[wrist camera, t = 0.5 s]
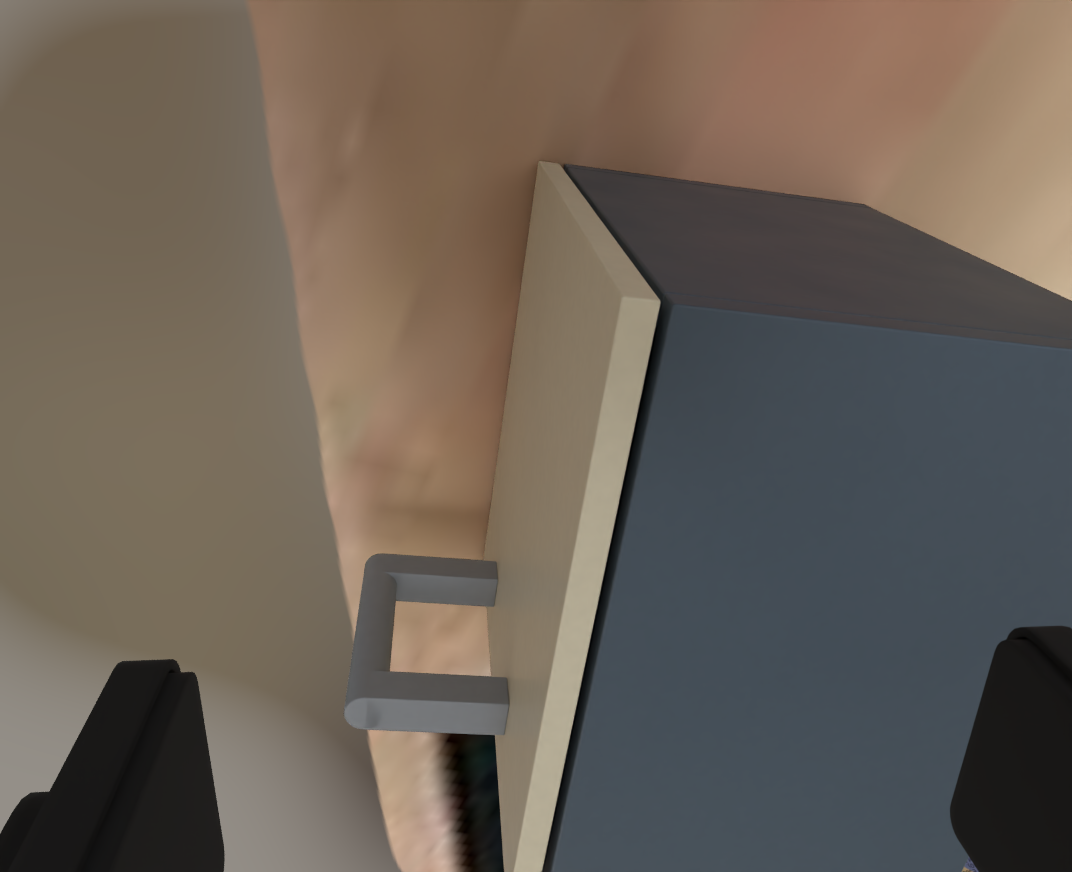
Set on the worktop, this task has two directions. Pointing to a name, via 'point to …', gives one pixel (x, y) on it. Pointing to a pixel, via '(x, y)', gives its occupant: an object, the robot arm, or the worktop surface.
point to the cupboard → (812, 536)
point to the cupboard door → (530, 522)
